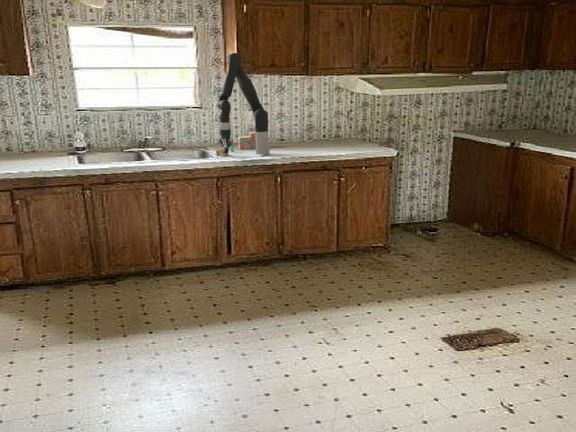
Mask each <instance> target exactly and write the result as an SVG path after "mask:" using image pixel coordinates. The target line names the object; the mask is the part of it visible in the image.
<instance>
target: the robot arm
mask: <svg viewBox="0 0 576 432" xmlns="http://www.w3.org/2000/svg"><path fill="white" fill-rule="evenodd" d="M226 64H227V66H228V70H227V72H226V73H227V74H226V76H225V79H224V82H223V84H222V89H221V94H220V95H219V97H218V100H217V108H218V109H219V110H220V115H219V135H220V139H218V142H219V143H220V145H221V147H222V148H223V149H225V153H228V154H229V152H230V151H229V148H230V147H231V145H232V143H233V144H234V140H232V139H231V135H232V128H231V126H232V125H231V119H230V114H231V108H232V107H231V106H232V105H231V102H230V101H229V98H230V97H231V96H232V94H233V88H234V85H235V81H236V83H237V84H238V86H239V88H240V90H241V92H242V94H243V96H244V98H245V99H246V101H247V103H248V104H249V106H250V109H251V111H252V113H253V116H254V123H255V125H254V130H255V131H254V132H255V138H256V149H255V154H256V155H260V157H264V156H268V155H270V154H271V153H270V152H271V151H270V141H269V115H268V114H269V113H268V112H267V111H266V109H265V108H264V107H263V105H262V104H261V102H260V100H259V96H258V92H257V89H256V87H255V85H254V83H253V82H252V80H251V79H250V77H249V76H248V74H247V73H246V72H245V71H244V69H243V67H242V56H241V54H239V53H237V52H232V53H230V54H229V55H228V56H227V57H226Z"/></svg>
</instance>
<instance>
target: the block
mask: <svg viewBox="0 0 576 432" xmlns="http://www.w3.org/2000/svg"><path fill="white" fill-rule="evenodd" d="M217 150H218V156H217V157H226V156H227V157H228V156H229V153H225V149H224V148H222V149H221V148H220V149H217Z"/></svg>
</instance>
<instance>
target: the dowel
mask: <svg viewBox="0 0 576 432" xmlns="http://www.w3.org/2000/svg"><path fill="white" fill-rule="evenodd" d="M229 148H230V153H234V152H235V151H234V142H233V143H232V145H231V147H229Z"/></svg>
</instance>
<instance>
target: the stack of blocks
mask: <svg viewBox="0 0 576 432" xmlns="http://www.w3.org/2000/svg"><path fill="white" fill-rule="evenodd" d="M248 134H249V135H246V136H238V137H237V139H238V140H237V141H238V149H239V150H253V148H256V138H255V131H249V133H248Z"/></svg>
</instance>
